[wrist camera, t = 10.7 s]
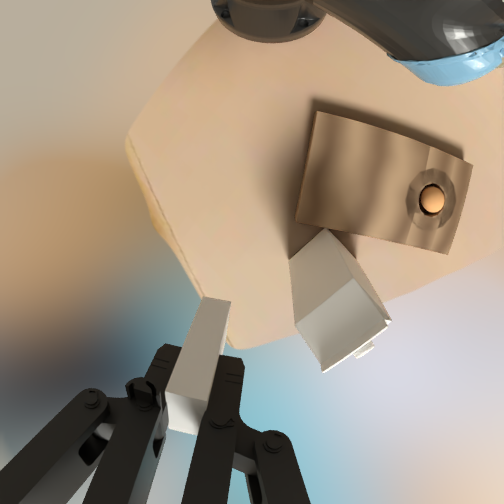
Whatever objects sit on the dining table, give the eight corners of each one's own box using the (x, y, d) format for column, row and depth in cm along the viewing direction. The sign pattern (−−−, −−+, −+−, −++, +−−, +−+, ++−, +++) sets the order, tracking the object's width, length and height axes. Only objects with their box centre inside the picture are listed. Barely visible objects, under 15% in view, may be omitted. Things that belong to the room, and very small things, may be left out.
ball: (421, 184, 32) (445, 185, 31) (419, 187, 35) (442, 188, 34) (422, 211, 33) (446, 212, 31) (420, 212, 36) (442, 213, 34)
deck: (294, 216, 38) (296, 222, 35) (314, 112, 32) (317, 110, 30) (440, 248, 38) (447, 254, 35) (463, 162, 32) (473, 165, 30)
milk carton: (288, 260, 40) (296, 353, 23) (325, 226, 38) (365, 301, 20) (320, 291, 42) (344, 388, 24) (357, 260, 39) (405, 346, 22)
